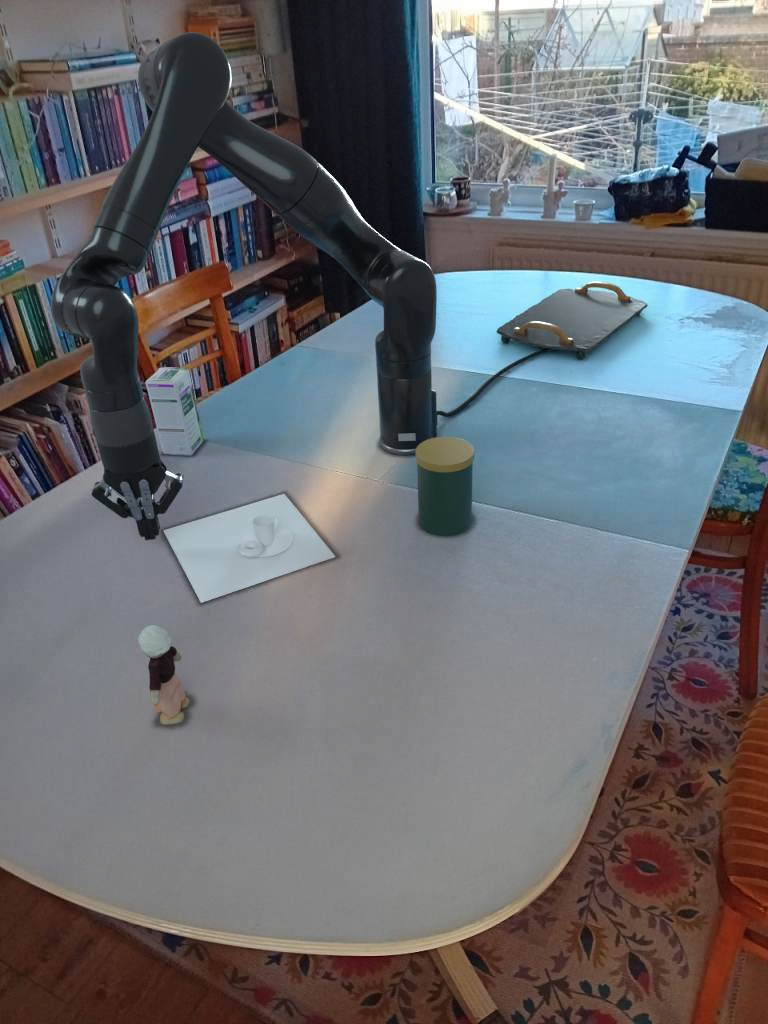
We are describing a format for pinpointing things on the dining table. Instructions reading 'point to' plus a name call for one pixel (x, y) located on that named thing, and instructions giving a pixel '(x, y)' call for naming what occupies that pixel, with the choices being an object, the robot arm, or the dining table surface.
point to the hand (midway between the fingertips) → (151, 536)
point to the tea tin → (445, 485)
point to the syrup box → (175, 410)
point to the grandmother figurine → (163, 675)
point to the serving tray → (573, 319)
